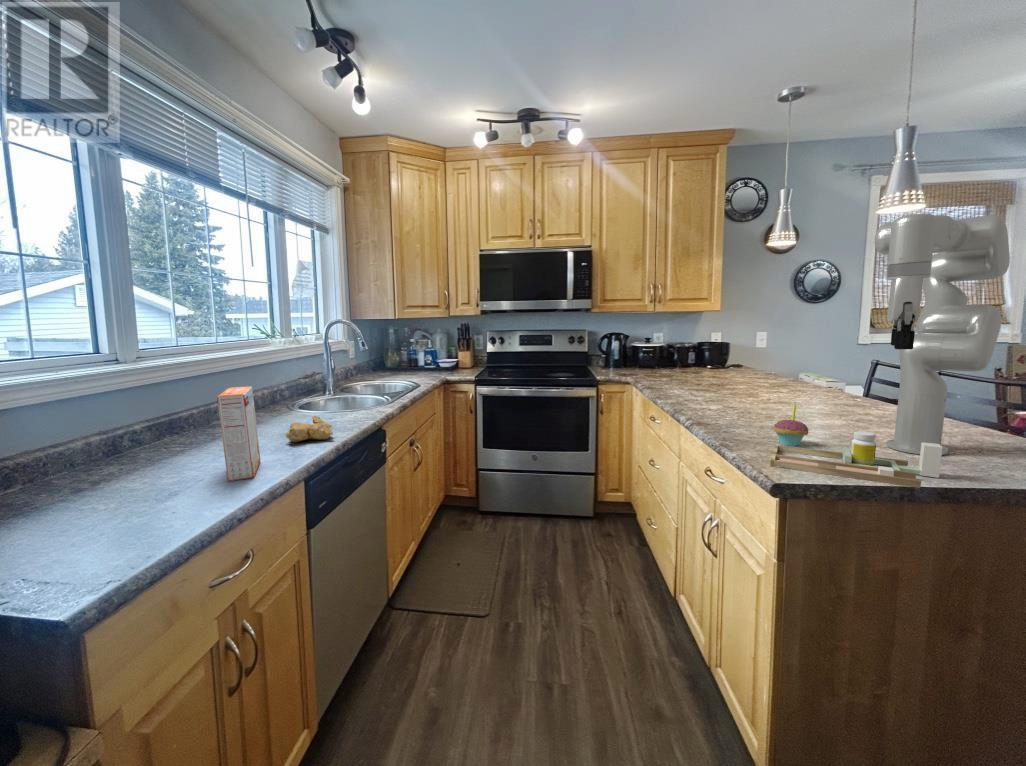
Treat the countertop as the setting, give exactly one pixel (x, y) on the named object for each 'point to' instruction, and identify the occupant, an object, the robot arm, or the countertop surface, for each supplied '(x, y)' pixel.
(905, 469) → the green handled square frame
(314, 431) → the ginger root
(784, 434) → the cupcake
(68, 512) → the countertop surface
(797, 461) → the broken strip
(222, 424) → the cracker box
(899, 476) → the lane rails
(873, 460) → the supplement bottle
